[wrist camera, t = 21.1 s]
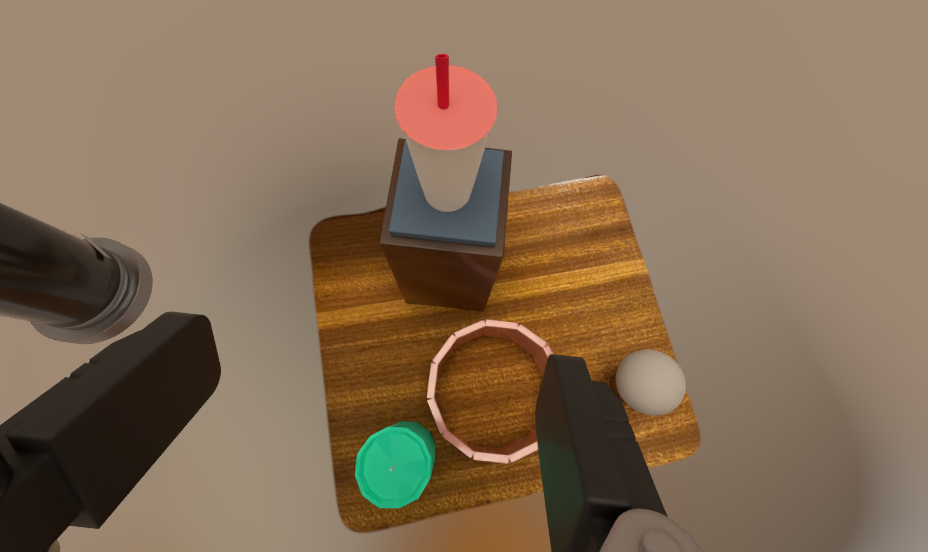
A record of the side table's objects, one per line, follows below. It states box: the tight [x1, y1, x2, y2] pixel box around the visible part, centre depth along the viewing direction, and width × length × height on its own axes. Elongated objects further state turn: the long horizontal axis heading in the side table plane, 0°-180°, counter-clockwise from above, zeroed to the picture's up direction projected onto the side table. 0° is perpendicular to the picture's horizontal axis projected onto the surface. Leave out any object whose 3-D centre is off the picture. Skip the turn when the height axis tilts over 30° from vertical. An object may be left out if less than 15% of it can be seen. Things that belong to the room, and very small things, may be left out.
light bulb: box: [611, 350, 686, 415], centre depth 39 cm, size 6×6×10 cm
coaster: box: [389, 140, 504, 247], centre depth 30 cm, size 8×8×1 cm
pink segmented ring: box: [427, 319, 553, 464], centre depth 41 cm, size 13×13×6 cm
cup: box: [395, 54, 497, 212], centre depth 24 cm, size 5×5×12 cm
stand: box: [379, 138, 512, 311], centre depth 39 cm, size 9×9×18 cm
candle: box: [355, 421, 436, 508], centre depth 36 cm, size 6×6×12 cm
